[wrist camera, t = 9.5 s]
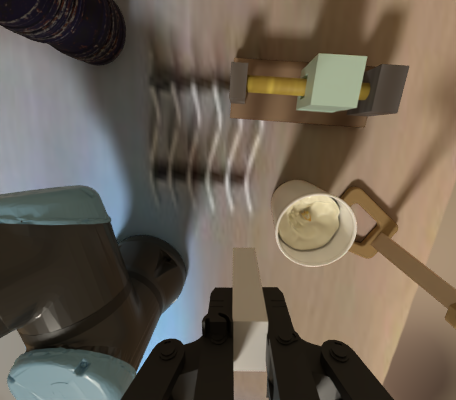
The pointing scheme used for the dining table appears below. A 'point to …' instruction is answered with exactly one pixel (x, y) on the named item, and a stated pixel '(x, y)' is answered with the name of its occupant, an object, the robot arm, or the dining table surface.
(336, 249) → the candle holder
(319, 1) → the dining table surface
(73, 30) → the storage jar
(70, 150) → the dining table surface
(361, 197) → the headphone stand
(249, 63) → the rail
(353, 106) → the sleeve
